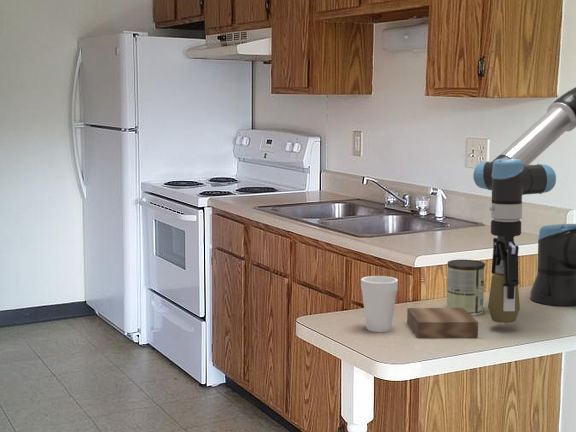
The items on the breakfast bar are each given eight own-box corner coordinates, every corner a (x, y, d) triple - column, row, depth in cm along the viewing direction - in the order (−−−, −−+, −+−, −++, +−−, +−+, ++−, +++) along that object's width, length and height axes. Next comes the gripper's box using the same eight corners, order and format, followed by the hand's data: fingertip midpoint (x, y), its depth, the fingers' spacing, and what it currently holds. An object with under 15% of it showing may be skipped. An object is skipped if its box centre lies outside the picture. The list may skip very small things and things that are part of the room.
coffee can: (444, 306, 231) (445, 259, 230) (480, 307, 230) (482, 259, 229) (448, 315, 221) (449, 265, 219) (485, 316, 220) (487, 266, 218)
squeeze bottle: (491, 315, 212) (493, 248, 210) (522, 318, 209) (524, 251, 206) (484, 322, 205) (485, 253, 203) (516, 326, 202) (517, 256, 199)
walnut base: (462, 322, 214) (463, 307, 213) (477, 337, 199) (478, 322, 198) (407, 322, 213) (407, 308, 213) (417, 338, 198) (418, 322, 198)
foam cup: (395, 334, 202) (396, 284, 200) (359, 332, 203) (359, 282, 202) (397, 325, 211) (398, 276, 209) (362, 323, 213) (363, 275, 211)
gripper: (480, 214, 214) (478, 297, 217) (503, 225, 193) (501, 317, 196) (508, 214, 214) (506, 297, 217) (534, 225, 193) (531, 316, 196)
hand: (503, 306), depth 206 cm, fingers closed on squeeze bottle, 8 cm apart
